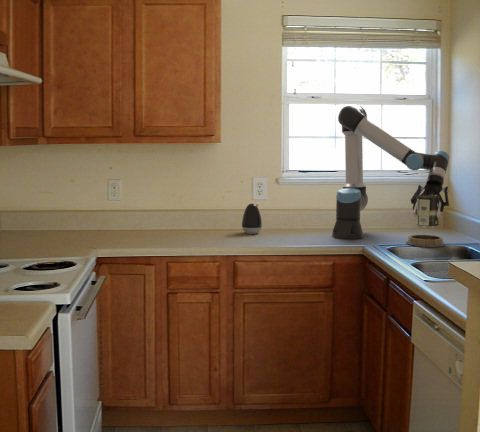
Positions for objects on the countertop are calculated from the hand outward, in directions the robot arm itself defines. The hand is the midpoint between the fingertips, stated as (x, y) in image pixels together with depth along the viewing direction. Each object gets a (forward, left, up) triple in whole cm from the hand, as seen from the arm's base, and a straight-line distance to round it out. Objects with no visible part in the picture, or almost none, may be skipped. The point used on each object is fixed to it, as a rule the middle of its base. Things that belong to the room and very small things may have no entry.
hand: (426, 215), depth 306 cm
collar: (0, +3, -14) cm, 14 cm away
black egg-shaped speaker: (-84, -12, -14) cm, 86 cm away
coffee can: (0, +3, -6) cm, 6 cm away
